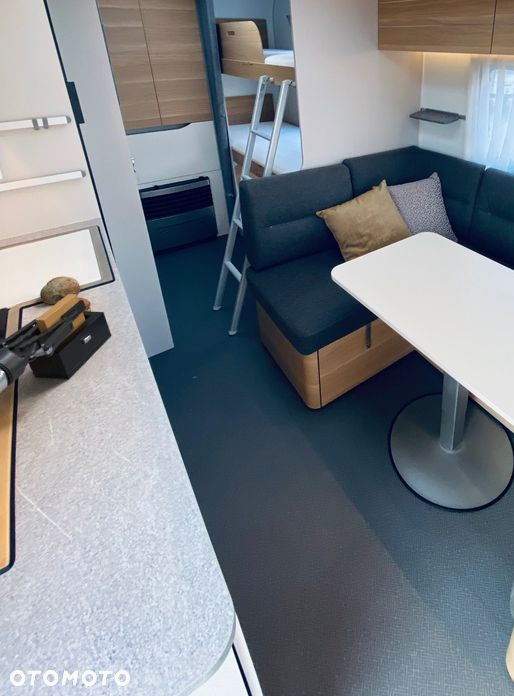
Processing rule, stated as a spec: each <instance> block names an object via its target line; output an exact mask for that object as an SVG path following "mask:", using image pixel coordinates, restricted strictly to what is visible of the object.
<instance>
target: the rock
mask: <svg viewBox="0 0 514 696" xmlns="http://www.w3.org/2000/svg"><path fill="white" fill-rule="evenodd" d="M80 292H81V285H80V283H79V282H78V280H77V279H76V278H74V277H71V276H57V277H53V278H52V279H49V280H48V281H47V282H46V284H45V285H44V286H43V287H42V288H41V289H40V293H39V297H40V300H41V302H42V303H45V304H48V305H55V304H56V303H58V302H59V301H60V300H61V299H63V298H64V297H65V296H67V295H68V294H76V295H77V296H79V294H80Z"/></svg>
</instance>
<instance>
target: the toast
mask: <svg viewBox="0 0 514 696" xmlns="http://www.w3.org/2000/svg"><path fill="white" fill-rule="evenodd" d="M77 297H78V295H76V294H68V295H67V296H65V297H64V298H63V299H61V300H60V301H59V302H58V303H56V304H53V305H52V306H51V307H50V308H49V309H47V310H46V311H45V312H43V313H42V314H41V315H40V316H38V317H36V318H37V319H36V318H35V319H36V320H35V321H36V323H37V325H38V328H39V330H40V333H42V332H44V331H45V330H47V329H48V328H49V327H51V326H52V325H53V324H55V323H56V322H57V321H59V320H60V319H61V316H62V315H63V314H64V313H65V312H67V311H68V310H69V309H70V308H71V307H73V306H74V305H75V304H76V303H77V302H79V301H78V298H77ZM84 321H85V317H84V315H83V312H82V313H81V314H79V316H78V317H77V318H76V319H75V320H74V321H73V322H72V323H73V326H74V329H73V330H72V331H71V332H70V334H71V333H72V332H73V331H74V330H75V329H77V328H78V327H79V326H80V325H81V324H82V323H83V322H84ZM70 334H69V335H70ZM69 335H68V336H69ZM68 336H67V337H68ZM67 337H66V338H67Z"/></svg>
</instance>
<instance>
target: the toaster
mask: <svg viewBox="0 0 514 696" xmlns="http://www.w3.org/2000/svg"><path fill="white" fill-rule="evenodd" d="M83 315H84V317H85V321H84V322H83V323H82V324H81V325H80V326H79V327H78V328H77V329H75V330H74V331H73V332H72V333H71V334H70V335H69V336H68V337H67V338H65V339H64V340H63V341H62V342H61V343H60V344H59V345H58V346H57V348H56V349H55V350H54V352H53V355H52V356H50V357H46V355H42V356H38V357H37V358H36V359H35V360H33V361H32V362H30V363H28V364H27V365H28V367H29V368H30V370H31V373H32V375H33V376H34V378H38V379H39V378H40V379H57V380H70V379H72V378H73V376H74V375H75V374H76V373H77V372H79V370H80V369H81V368H82V367H83V366H84V365H85V364H86V363H87V362H88V361H89V360H90V359H91V358H92V357H93V356H94V355H95V354H96V353H97V352H98V350H99V349H100V348H101V347H102V346H103V345H104V344H105V343H106V342H107V341H108V340H109V339H110V338H111V337H112V333H111V330H110V326H109V324H108V320H107V317H106V315H105V312H104V311H92V310H91V311H83Z"/></svg>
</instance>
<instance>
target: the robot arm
mask: <svg viewBox="0 0 514 696" xmlns="http://www.w3.org/2000/svg"><path fill="white" fill-rule="evenodd" d="M85 309H86V307H85V304H84V301H83V300H80V301H79V302H77V303H76V304H75V305H74V306H73V307H71V308H70V309H69V310H68V311H67V312H65V313H64V314H63V315H62V316H61V319H60V320H59V321H57V322H56V323H55V324H53V325H52V326H51V327H49V328H48V329H47V330H45V331H44V332H42V333H40V330H39V328H38V325H37V323H36V321H35V320H36V319H37V318H38V317H36V318H34V319H33V320H31V321H30V322H28V323H26V324H25V325H24V326H22V327H21V328H19V329H18V330H16V331H15V332H13V333H12V334H10V335H9V336H8V337H6V338H4V339H2V340H0V394H1V393H2V392H3V391H5V390H6V389H7V387H9V386H10V385H12V384H13V383H14V382H15V381H16V380H17V379H18V378H20V377H21V376H22V375H23V374H24V372H25V371H26V368H27V366H28V365H29V364H28V363H30V362H32V361H33V360H35V359H36V358H37V357H38V356H42V355H46V357H50V356H52V355H53V352H54V350H55V349H56V348H57V346H58V345H59V344H60V343H61V342H62V341H63V340H64V339H65V338H66V337H67V336H68V335H69V334H70V332H71V331H72V330H73V329H74V326H73V323H72V322H73V321H74V320H75V319H76V318H77V317H78V316H79V314H81V313H82V312H83V311H84V310H85Z"/></svg>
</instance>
